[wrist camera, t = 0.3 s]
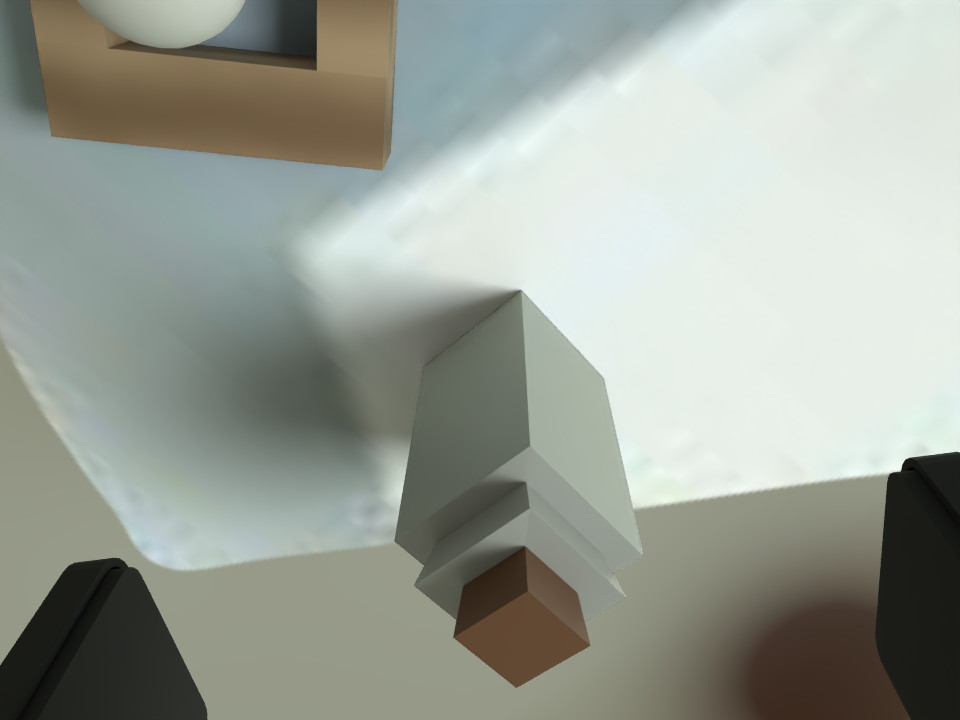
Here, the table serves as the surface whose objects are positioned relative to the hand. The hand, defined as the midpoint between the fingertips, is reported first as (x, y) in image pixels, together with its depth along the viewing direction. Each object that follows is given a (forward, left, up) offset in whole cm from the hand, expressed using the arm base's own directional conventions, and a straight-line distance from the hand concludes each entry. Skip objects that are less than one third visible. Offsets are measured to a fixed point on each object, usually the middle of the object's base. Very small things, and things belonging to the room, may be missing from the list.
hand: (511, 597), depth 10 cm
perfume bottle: (+14, +2, -30) cm, 33 cm away
